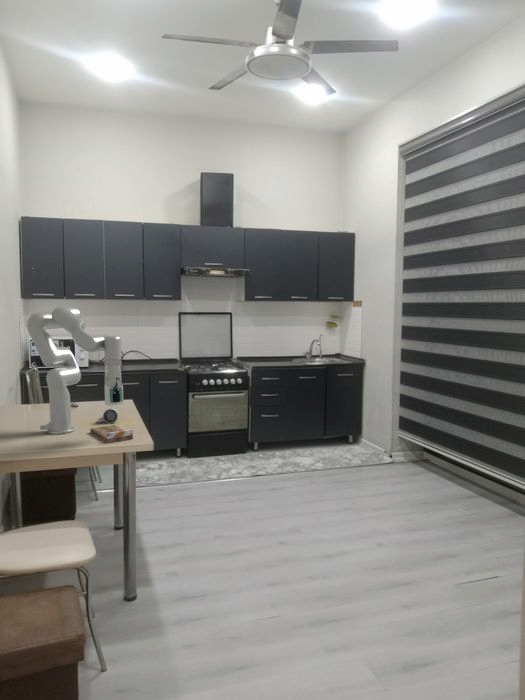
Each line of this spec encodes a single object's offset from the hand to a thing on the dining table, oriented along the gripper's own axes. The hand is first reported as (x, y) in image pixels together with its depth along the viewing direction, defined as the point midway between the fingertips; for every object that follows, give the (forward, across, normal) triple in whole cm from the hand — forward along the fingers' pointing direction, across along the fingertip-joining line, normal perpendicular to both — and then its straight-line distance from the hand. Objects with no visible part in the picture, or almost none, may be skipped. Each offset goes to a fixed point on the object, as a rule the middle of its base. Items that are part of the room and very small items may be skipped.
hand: (114, 400), depth 239 cm
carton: (+2, 0, 0) cm, 2 cm away
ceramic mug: (+18, -34, +9) cm, 40 cm away
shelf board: (+18, -5, 0) cm, 18 cm away
